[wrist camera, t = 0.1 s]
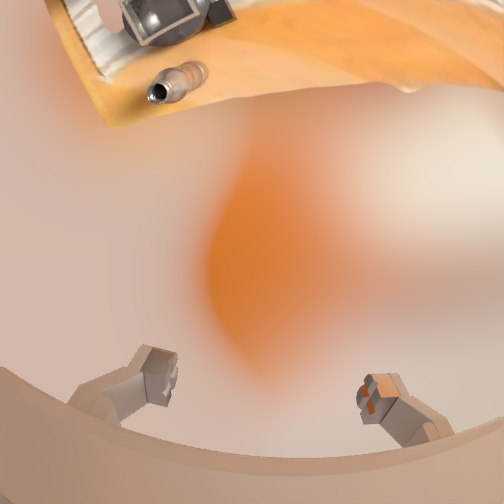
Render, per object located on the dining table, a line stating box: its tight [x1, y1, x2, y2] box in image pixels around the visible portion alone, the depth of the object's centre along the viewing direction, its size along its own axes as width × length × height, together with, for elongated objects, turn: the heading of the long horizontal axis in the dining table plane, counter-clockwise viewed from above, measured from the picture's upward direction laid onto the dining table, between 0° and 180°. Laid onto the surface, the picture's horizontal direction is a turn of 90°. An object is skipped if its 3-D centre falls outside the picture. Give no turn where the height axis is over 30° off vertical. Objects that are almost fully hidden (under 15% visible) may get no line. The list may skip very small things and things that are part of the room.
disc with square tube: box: [118, 0, 237, 46], centre depth 32 cm, size 18×20×8 cm
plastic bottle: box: [146, 60, 208, 105], centre depth 40 cm, size 6×7×20 cm
